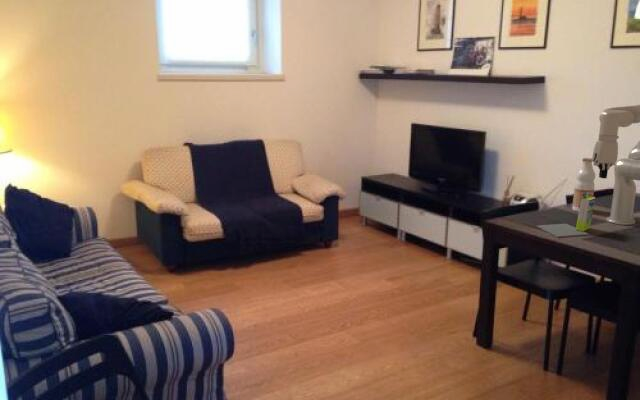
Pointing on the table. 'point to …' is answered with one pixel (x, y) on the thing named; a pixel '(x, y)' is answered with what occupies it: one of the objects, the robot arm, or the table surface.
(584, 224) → the box
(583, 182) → the fruit juice
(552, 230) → the mat
